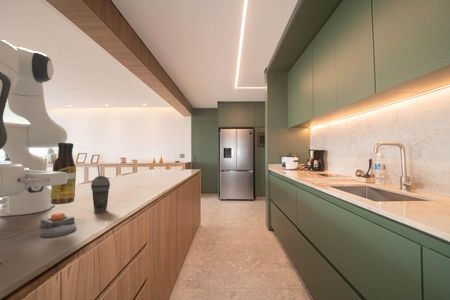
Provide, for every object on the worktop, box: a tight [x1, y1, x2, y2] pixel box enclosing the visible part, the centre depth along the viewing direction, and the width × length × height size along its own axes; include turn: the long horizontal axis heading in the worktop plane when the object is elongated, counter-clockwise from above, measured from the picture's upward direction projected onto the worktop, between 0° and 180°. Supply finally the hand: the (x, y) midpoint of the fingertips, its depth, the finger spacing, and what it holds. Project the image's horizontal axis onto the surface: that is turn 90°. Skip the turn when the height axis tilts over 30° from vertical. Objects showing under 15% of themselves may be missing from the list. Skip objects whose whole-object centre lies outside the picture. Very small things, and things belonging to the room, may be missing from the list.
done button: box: [50, 212, 66, 221], centre depth 74 cm, size 4×4×2 cm
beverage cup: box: [90, 165, 111, 214], centre depth 90 cm, size 7×7×20 cm
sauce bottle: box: [50, 142, 77, 206], centre depth 68 cm, size 7×6×20 cm
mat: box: [39, 224, 77, 239], centre depth 67 cm, size 9×9×1 cm
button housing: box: [40, 214, 75, 229], centre depth 74 cm, size 7×7×2 cm
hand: (66, 175), depth 69 cm, fingers closed on sauce bottle, 6 cm apart
